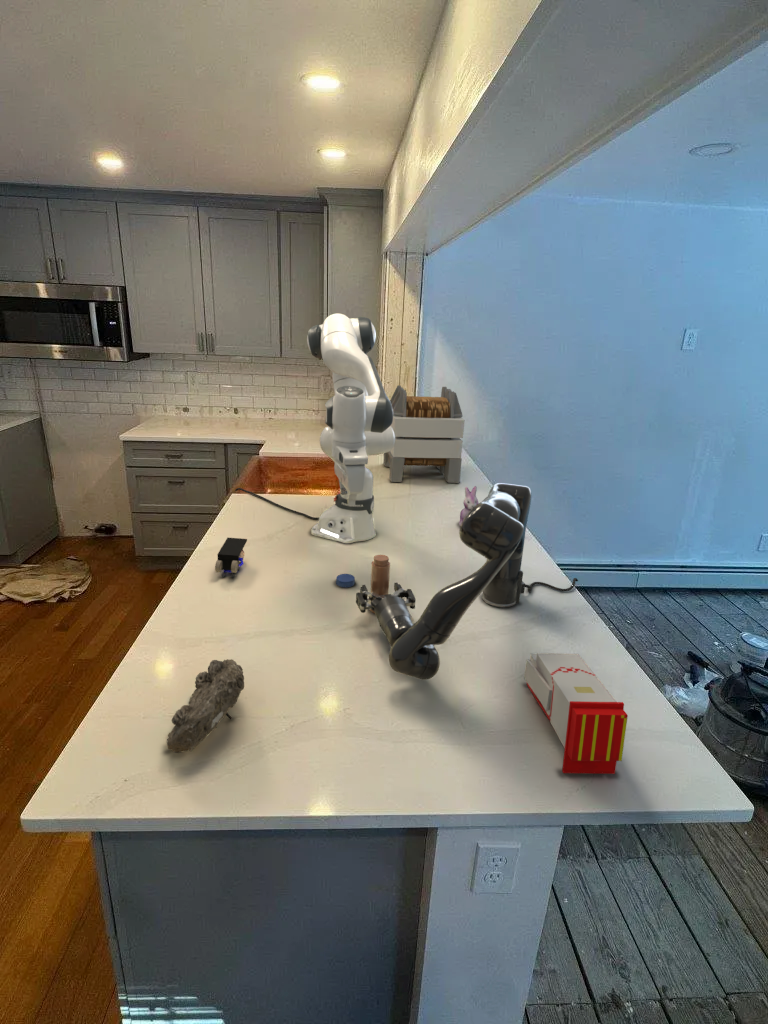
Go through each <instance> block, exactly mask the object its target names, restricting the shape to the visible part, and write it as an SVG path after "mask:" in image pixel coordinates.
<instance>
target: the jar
mask: <svg viewBox="0 0 768 1024" xmlns="http://www.w3.org/2000/svg"><path fill="white" fill-rule="evenodd" d="M370 564H371V566H370V567H371V568H370V591H369V592H370V593H372V592H374V593H376V594H379V595H387V594H390V578H391V562H390V558H389V556H388V555H386V554H376V555H374V556H373V560H372V561H371V563H370ZM374 599H375V598H374ZM369 611H370V612H371V613H372V614H374V615H376V614H375V612H374V611H373V610H372V609H369Z"/></svg>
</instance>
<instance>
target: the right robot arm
mask: <svg viewBox="0 0 768 1024" xmlns="http://www.w3.org/2000/svg"><path fill="white" fill-rule="evenodd" d="M478 503H479V504H477V505H476V506H474V507H473V508H472V509H471V510H470V511H469V513H468V514H467V515H466V517H465V518H464V520H463V522H462V524H461V526H459V532H458V533H459V535H458V536H459V539H460V541H461V542H462V543H463V544H464V545H465V546H466V547H468V548H469V549H471V550H472V551H474V552H476V553H477V554H479V555H480V556H482V557H484V558H485V559H486V561H485V562H484V564H483V565H482V566H481V567H480V568H478V569H477V570H476V571H474V573H472V574H470V575H468V576H466V577H464V578H462V579H459V580H458V581H455V582H453V583H451V584H448V585H446V586H445V587H443V588H442V589H440V590H438V592H436V593H435V594H434V595H433V596H432V597H431V599H430V600H429V602H428V604H427V605H426V607H425V609H424V610H423V612H422V613H421V615H420V616H419V618H418V619H417V621H416V622H414V618H413V616H412V614H411V611H410V610H409V608H410V609H411V610H414V609H416V596H415V595H414V593H413V590H412V589H411V588H407V589H406V590H405V588H403V587H402V585H401V584H400V583H398V582H394V583H393V590H394V592H393V593H389V594H387V595H379V594H376V593H374V592H372V593H370V591H368V587H367V585H366V584H361V586H360V587H359V588H360V589H359V592H356V593H355V603H356V605H357V608H358V609H359V611H360V613H362V614H364V613H365V614H366V610H370V609H372V610H373V611H374V612H375V614H374V615H375V617H376V619H377V622H378V624H379V628H380V629H381V630H382V632H383V634H384V635H385V637H386V640H387V642H388V644H389V646H390V650H389V653H388V663H389V667H390V668H391V669H392V670H393V671H394V672H396V673H397V674H402V675H406V676H409V677H412V678H415V679H419V680H421V681H422V680H423V681H426V680H431V679H432V678H434V677H435V676H437V674H438V671H439V669H440V665H441V660H440V654H439V651H438V649H437V647H436V646H439V645H443V644H445V643H446V642H447V641H448V640H449V638H450V636H451V635H452V633H453V632H454V630H455V629H456V628H457V626H458V624H459V623H460V621H461V620H462V618H463V616H464V615H465V614H466V612H467V611H468V609H469V608H470V607H471V605H473V603H474V602H475V601H476V600H477V598H478V597H480V595H482V596H481V599H482V601H484V603H486V604H488V605H489V606H492V607H497V608H511V607H513V606H516V604H520V600H521V595H524V594H525V590H526V589H525V588H527V592H529V593H532V591H533V587H534V586H536V585H539V586H545V587H548V588H550V589H552V590H555V591H558V592H569V591H571V590H573V589H574V587H575V586H576V582H579V579H578V578H577V577H574V578H573V579H572V582H571V585H570V587H567V588H560V587H557V586H554V585H551V584H549V583H546V582H543V581H533V582H532V583H530V585H529V584H526V583H525V582H524V581H523V576H524V571H523V570H522V561H523V555H524V554H523V552H524V547H525V539H526V530H527V526H528V525H527V524H528V519H529V514H530V509H531V505H532V504H531V503H532V489H531V488H530V487H529V486H527V485H521V484H514V483H505V482H497V483H495V484H493V485H492V487H491V488H490V490H489V492H488V495H487V496H486V497H485V498H484V499H483V500H481V502H478ZM572 585H573V586H572ZM374 598H375V599H374ZM405 599H406V600H405ZM408 607H409V608H408Z"/></svg>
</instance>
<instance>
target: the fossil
mask: <svg viewBox="0 0 768 1024" xmlns="http://www.w3.org/2000/svg"><path fill="white" fill-rule="evenodd" d="M243 670H244V669H243V667H242V665H240V664H237V662H236V661H235V660H234V659H232V658H231V659H227V658H226V659H224V660H223V661H222V660H217V659H212V660H211V661H210V663H209V665H208V666H207V671H201V672H199V673H198V674H197V675H196V676H195V680H194V684H195V685H194V687H195V689H194V690H193V693H192V694H191V697H190V698H189V700H188V704H184V705H182V706H181V707H180V709H177V710H176V711H175V713H174V715H173V716H172V718H171V723H172V724H173V727H172V730H171V731H170V732H168V734H167V738H166V741H167V742H166V745H167V749H168V750H169V751H173V752H174V753H176V754H178V753H182V752H188V751H189V752H192V751H193V750H195V748H196V747H197V746H199V744H200V743H201V742H203V741H204V740H205V739H206V738H207V737H208V736H209V735H210V734H211V733H212V732H214V730H215V729H217V727H218V726H219V724H220V722H221V721H222V720H223V719H224V718H225V716H226V717H227V719H229V720H233V717H232V715H230V714H229V710H230V709H231V708H234V706H235V704H236V703H237V702H238V699H239V697H240V695H241V693H242V691H243V690H245V689H244V688H245V675H244V671H243Z"/></svg>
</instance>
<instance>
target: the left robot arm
mask: <svg viewBox="0 0 768 1024" xmlns="http://www.w3.org/2000/svg"><path fill="white" fill-rule="evenodd" d="M376 340H377V331H376V327H375V326H374V324H373V322H372V320H371V319H370V318H369V317H366V316H358V317H353V318H352V317H350V318H349V316H347V315H346V314H343V313H339V312H337V313H333V314H329V315H328V316H327V317H326V318H325V319H324V321H323V322H322V324H320V323H319V324H316V325H313V326H311V327H310V328H309V329H308V331H307V336H306V344H307V348H308V350H309V352H310V354H311V355H312V356H313V357H314V358H316V359H322V362H323V363H324V365H325V367H326V368H327V369H328V370H330V371H331V374H332V385H333V392H334V395H333V396H331V397H330V398H329V399H327V401H326V402H325V403H324V405H325V420H324V424H325V425H327V426H325V427H324V428H322V430H321V433H320V436H319V446H320V449H321V450H322V452H323V453H324V454H325V455H326V456H327V457H328V458H330V459H331V460H332V462H334V463H333V464H334V466H333V469H334V475H335V476H336V477H337V478H338V484H339V491H338V492H337V494H336V495H335V496H334V497H333V502H334V504H333V505H331V506H329V507H328V508H326V509H325V510H323V512H321V514H320V515H319V516H318V517H314V516H310V515H308V514H306V513H304V512H300V511H296V510H294V509H291V508H288V507H286V506H283V505H281V504H278V503H277V502H274V501H272V500H270V499H269V498H266V497H264V496H262V495H259V494H257V493H255V492H252V491H249V490H246V489H244V488H242V487H237V488H236V489H234V492H237V491H242V492H245V493H246V494H250V495H253V496H255V497H256V498H259V499H262V500H263V501H265V502H268V503H270V504H272V505H274V506H276V507H279V508H281V509H283V510H286V511H288V512H291V513H294V514H297V515H299V516H303V517H305V518H308V519H310V520H315V521H317V520H318V521H317V523H315V524H314V525H313V526H312V528H311V530H310V533H311V536H315V537H319V538H323V539H326V540H330V541H336V542H339V543H343V544H352V543H357V542H365V541H368V540H372V539H373V538H375V537H376V535H377V532H376V528H375V523H374V513H373V512H374V509H375V496H374V474H373V472H372V471H371V469H369V468H367V467H366V465H368V463H369V457H370V456H379V455H384V453H386V452H389V451H391V450H392V448H393V446H394V444H395V433H394V431H393V429H392V427H391V424H392V421H393V408H392V405H391V402H390V400H391V399H389V397H388V395H387V393H386V391H385V388H384V386H383V383H382V380H381V378H380V375H379V372H378V370H377V368H376V365H375V363H374V360H373V359H372V357H370V355H368V353H370V352H371V351H372V350H373V348H374V346H375V343H376ZM368 456H369V457H368Z"/></svg>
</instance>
